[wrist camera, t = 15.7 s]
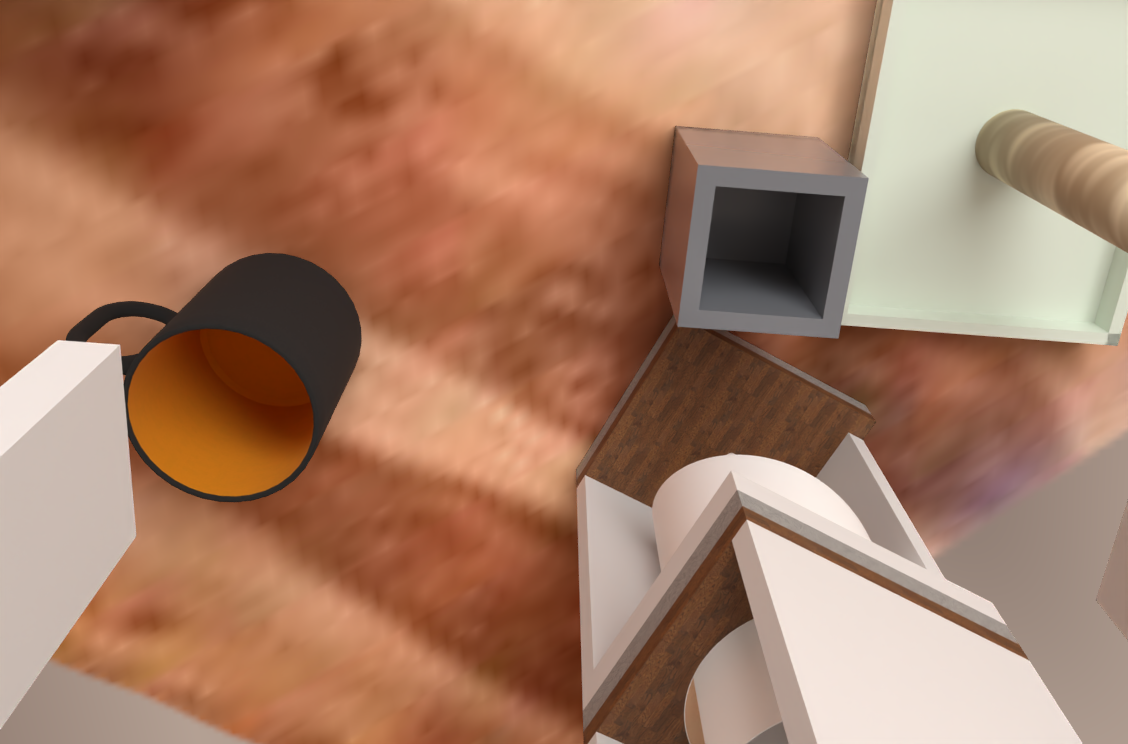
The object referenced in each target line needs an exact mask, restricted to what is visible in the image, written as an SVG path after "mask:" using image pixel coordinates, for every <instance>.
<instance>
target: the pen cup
mask: <svg viewBox="0 0 1128 744" xmlns="http://www.w3.org/2000/svg"><path fill="white" fill-rule="evenodd" d="M868 180H869V178H868V177H867V176H866V175H864V174H863V173H862V172H861V171H859V170H858V169H857V168H856V167H854V166H853V165H852V164H851V163H849V162H848V161H847V160H846V159H844V158H843V157H842V156H841V155H839V154H838V153H837V152H836V151H834V150H833V149H832V148H831V147H829V146H828V145H827V144H826V143H824V142H823V141H822V140H821V139H819V138H818V137H806V136H793V135H781V134H768V133H756V132H743V131H731V130H719V129H706V128H694V127H681V126H675V135H674V143H673V151H672V160H671V168H670V177H669V185H668V194H667V202H666V211H665V219H664V228H663V236H662V245H661V253H660V262H659V266H660V269H661V272H662V276H663V279H664V283H665V286H666V289H667V293H668V296H669V300H670V303H671V306H672V310H673V313H674V317H675V320H676V323H677V327H690V328H703V329H717V330H730V331H743V332H757V333H770V334H784V335H797V336H811V337H824V338H837V339H838V338H839V333H840V327H841V322H842V317H843V312H844V306H845V301H846V296H847V291H848V285H849V280H850V275H851V269H852V264H853V259H854V254H855V248H856V243H857V238H858V233H859V227H860V222H861V217H862V212H863V206H864V201H865V196H866V190H867V185H868Z"/></svg>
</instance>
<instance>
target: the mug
mask: <svg viewBox="0 0 1128 744" xmlns="http://www.w3.org/2000/svg"><path fill="white" fill-rule="evenodd" d="M129 316H138V317H146V318H150V319H154V320H157V321H160V322H162V323H164V324H166V326H165V327H164V328H163V329H162V330H161V331H160V332H159V333H158V334H157V335H156V336H155V337H154V338H153V339H152V340H151V341H150V342H149V343H148V344H147V345H146V346H145V347H144V348H143V349H142V350H141V352H140V353H139V354H135V355H130V356H121V360H122V372H123V375H126V377H125V380H124V396H125V407H126V419H127V431H128V436H129V438H130V440H131V442H132V444H133V446H134V448H135V450H136V451H137V453H138V454H139V455H140V457H141V458H142V459H143V461H144V462H145V463H146V464H147V465H148V466H149V467H150V468H151V469H152V470H153V471H154V472H155V473H156V474H157V475H158V476H160V477H161V478H162V479H164V480H165V481H167V482H168V483H169V484H171V485H173V486H174V487H176V488H178V489H180V490H182V491H184V492H186V493H189V494H191V495H194V496H197V497H200V498H203V499H208V500H214V501H219V502H242V501H251V500H255V499H259V498H262V497H266V496H269V495H271V494H273V493H275V492H277V491H279V490H281V489H283V488H284V487H285V486H287V485H288V484H290V483H291V482H292V481H294V480H295V479H296V478H297V477H298V475H299V474H300V473H301V472H302V471H303V470H304V469H305V467H306V466H307V464H308V462H309V461H310V459H311V458H312V456H313V454H314V452H315V450H316V448H317V446H318V444H319V442H320V440H321V437H322V435H323V433H324V431H325V429H326V427H327V425H328V423H329V421H330V419H331V417H332V414H333V412H334V410H335V408H336V406H337V404H338V402H339V400H340V398H341V395H342V393H343V391H344V389H345V387H346V385H347V383H348V381H349V379H350V376H351V374H352V372H353V370H354V368H355V365H356V363H357V360H358V357H359V354H360V347H361V327H360V322H359V317H358V314H357V311H356V309H355V307H354V304H353V302H352V300H351V299H350V297H349V296H348V294H347V292H346V291H345V289H344V288H343V287H342V286H341V285H340V284H339V283H338V281H337V280H336V279H335V278H333V277H332V276H331V275H330V274H329V273H327V272H326V271H325V270H323V269H322V268H320V267H318V266H317V265H315V264H313V263H311V262H309V261H306V260H304V259H301V258H299V257H295V256H290V255H286V254H275V253H265V254H258V255H252V256H249V257H246V258H242V259H239V260H238V261H236V262H234V263H232V264H230V265H228V266H227V267H225V268H224V269H223V270H222V271H220V272H219V273H218V274H217V275H216V276H215V277H214V278H213V279H212V280H211V281H210V282H209V283H208V284H207V285H206V286H205V287H204V288H203V289H202V290H201V291H200V292H199V293H198V294H197V295H196V296H195V297H194V298H193V299H192V300H191V301H190V302H189V303H188V304H187V305H186V306H185V307H184V308H183V309H182V310H181V311H180V312H179V313H176V312H174V311H172V310H170V309H167V308H165V307H162V306H158V305H154V304H150V303H144V302H135V301H126V302H117V303H111V304H107V305H104V306H102V307H99V308H97V309H96V310H94V311H93V312H92V313H90V314H89V315H88V316H86V317H85V318H84V319H83V320H82V321H80V322H79V323H78V324H77V325H75V326H74V327H73V328H72V329H71V330H70V331H69V333H68V335H67V337H66V341H76V342H86V341H87V340H88V339H89V338H90V337H91V336H92V335H93V334H94V333H96V332H97V331H98V330H99V329H100V328H101V327H103V326H104V325H105V324H106V323H107V322H109V321H111V320H113V319H116V318H120V317H129Z"/></svg>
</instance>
